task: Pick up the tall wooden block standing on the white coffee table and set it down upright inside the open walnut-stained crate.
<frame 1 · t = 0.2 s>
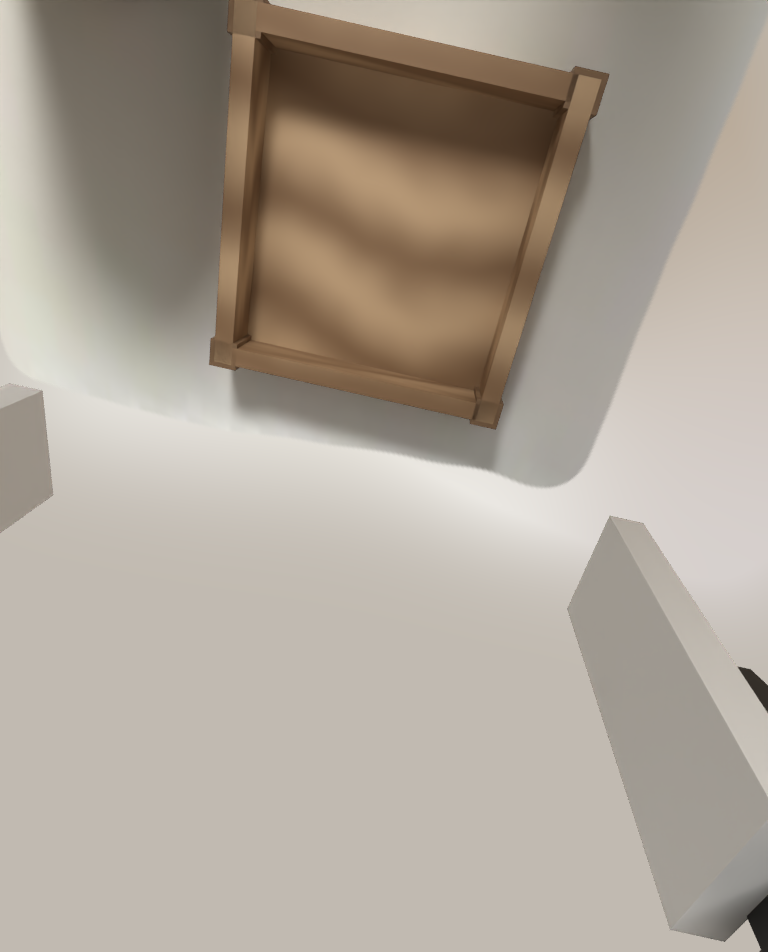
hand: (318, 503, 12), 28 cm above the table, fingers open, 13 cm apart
crate: (387, 237, 35), on the table
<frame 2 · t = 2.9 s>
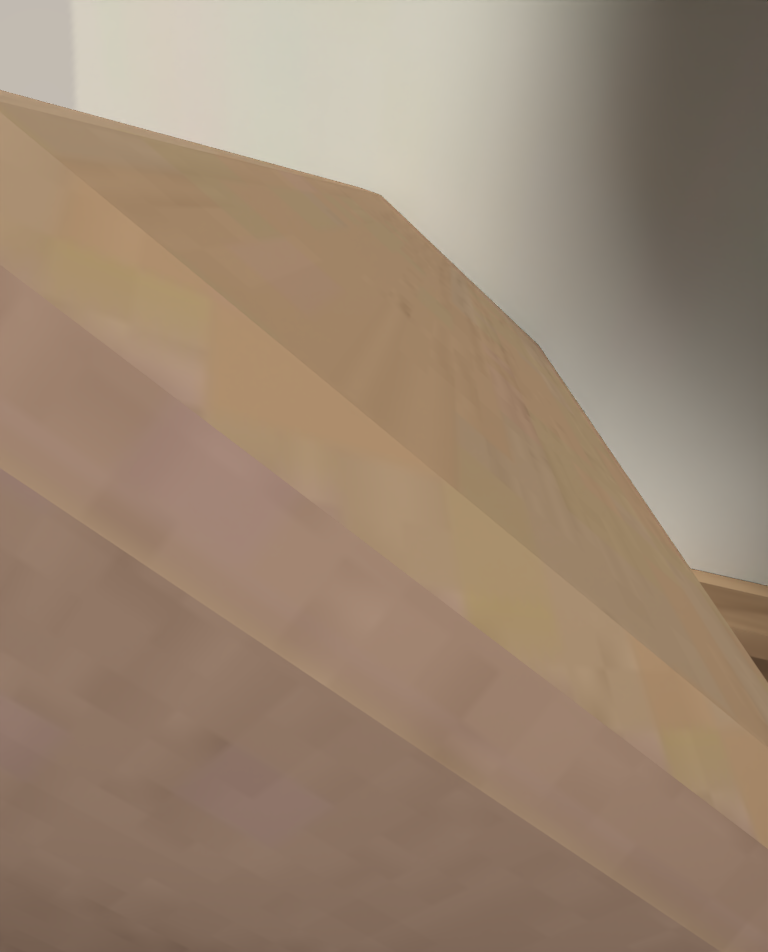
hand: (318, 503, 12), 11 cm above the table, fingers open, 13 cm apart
crate: (641, 712, 30), on the table
wooden block: (380, 365, 23), on the table
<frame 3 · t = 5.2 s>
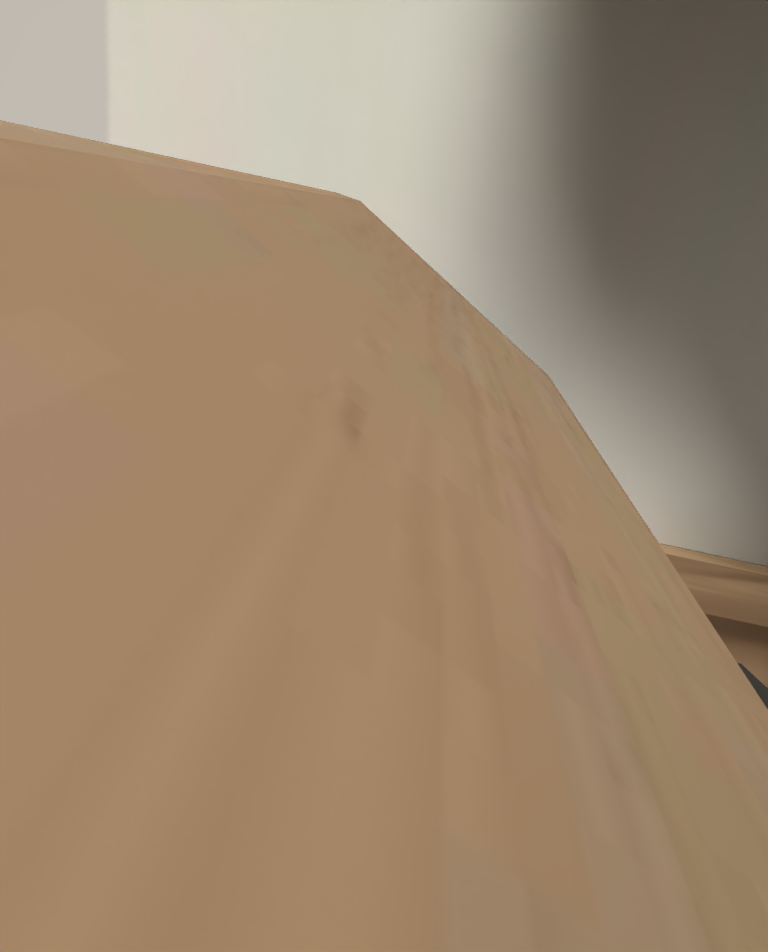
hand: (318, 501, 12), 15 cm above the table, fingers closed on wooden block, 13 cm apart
crate: (606, 674, 33), on the table
wooden block: (364, 396, 20), point 7 cm above the table, touching gripper
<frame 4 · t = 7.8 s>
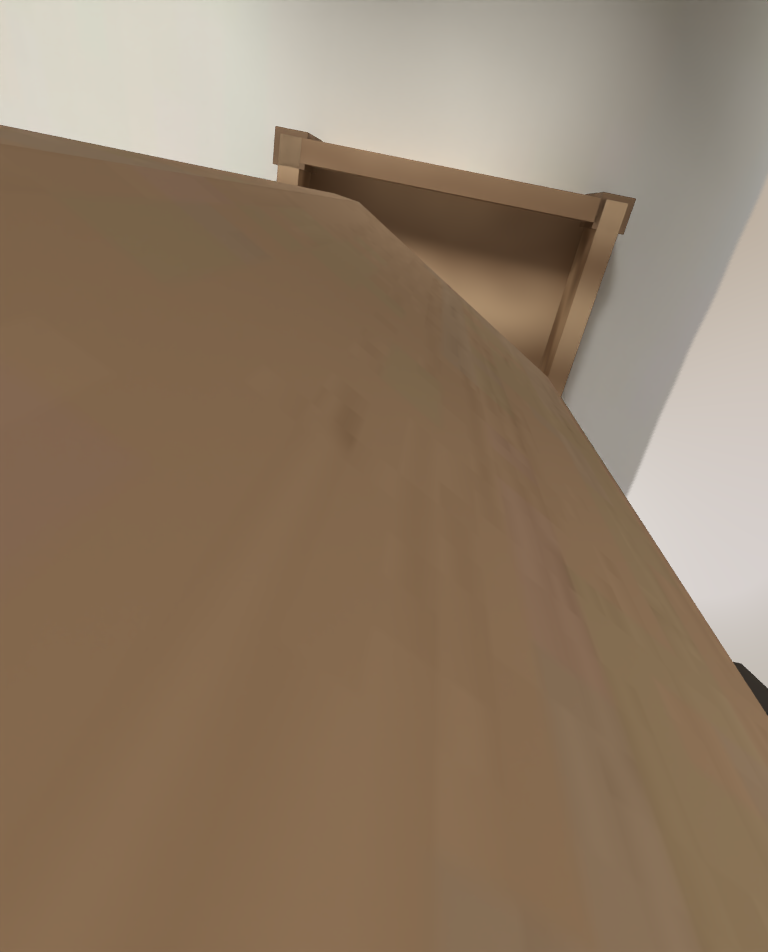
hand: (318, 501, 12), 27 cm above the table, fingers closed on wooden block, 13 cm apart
crate: (419, 330, 37), on the table
wooden block: (363, 398, 20), point 19 cm above the table, touching gripper
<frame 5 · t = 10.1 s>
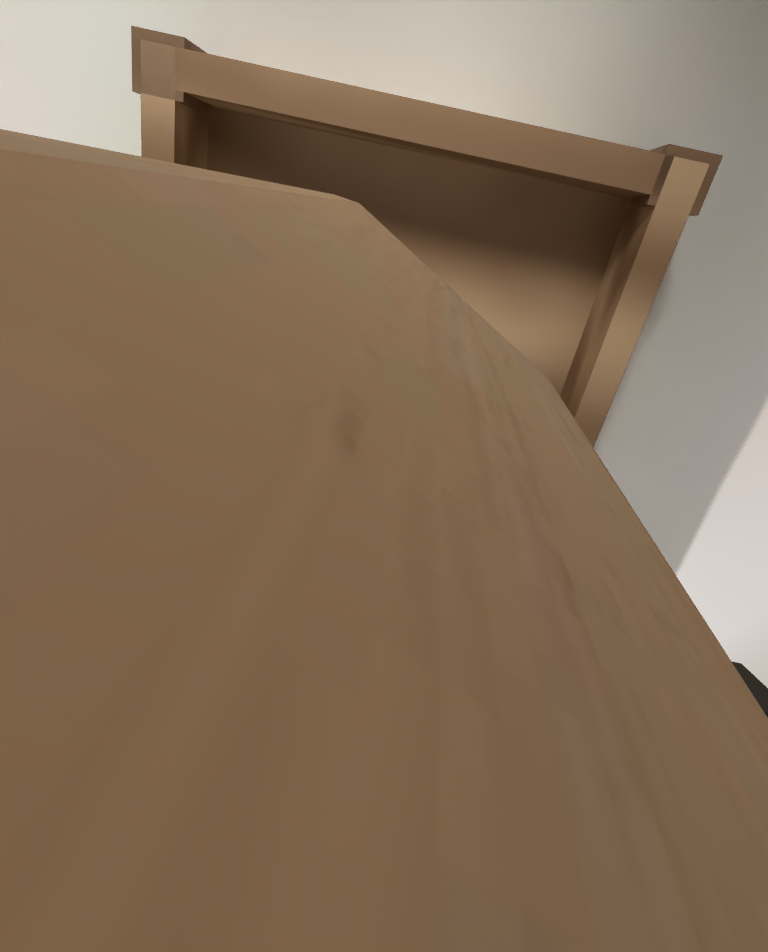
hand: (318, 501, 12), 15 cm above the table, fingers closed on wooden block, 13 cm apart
crate: (381, 357, 26), on the table
wooden block: (364, 398, 20), point 7 cm above the table, touching gripper
when the fingers open (10 cm above the table, at t = 11.9 s): wooden block stays where it is, resting on crate.
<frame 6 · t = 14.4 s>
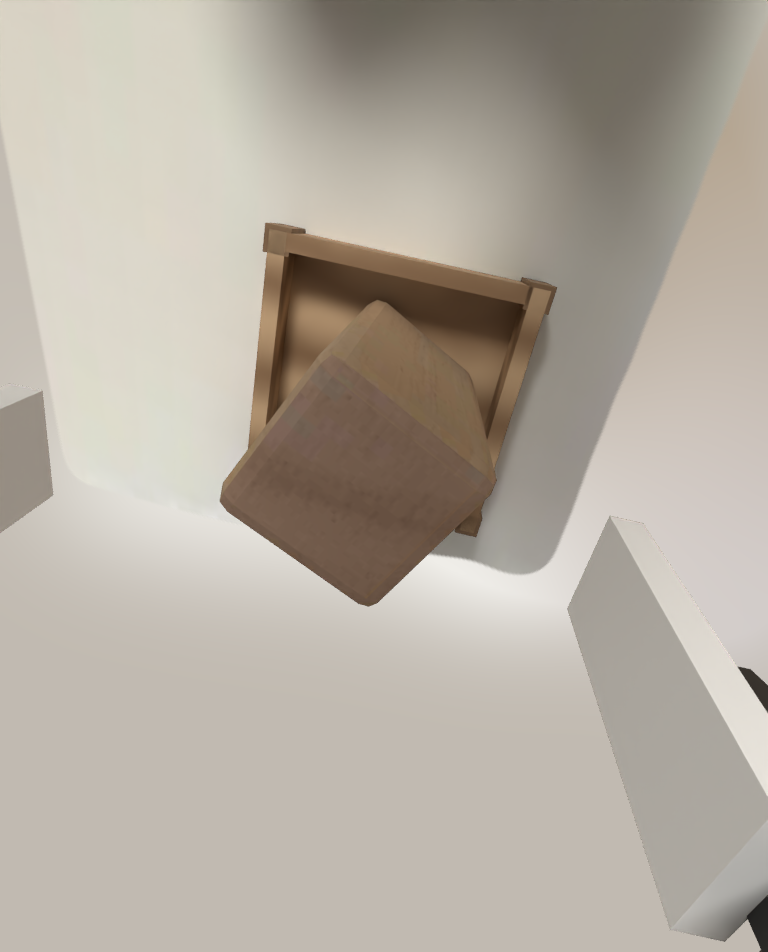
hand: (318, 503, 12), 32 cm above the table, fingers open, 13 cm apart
crate: (386, 383, 43), on the table
wooden block: (388, 384, 42), point 1 cm above the table, touching crate
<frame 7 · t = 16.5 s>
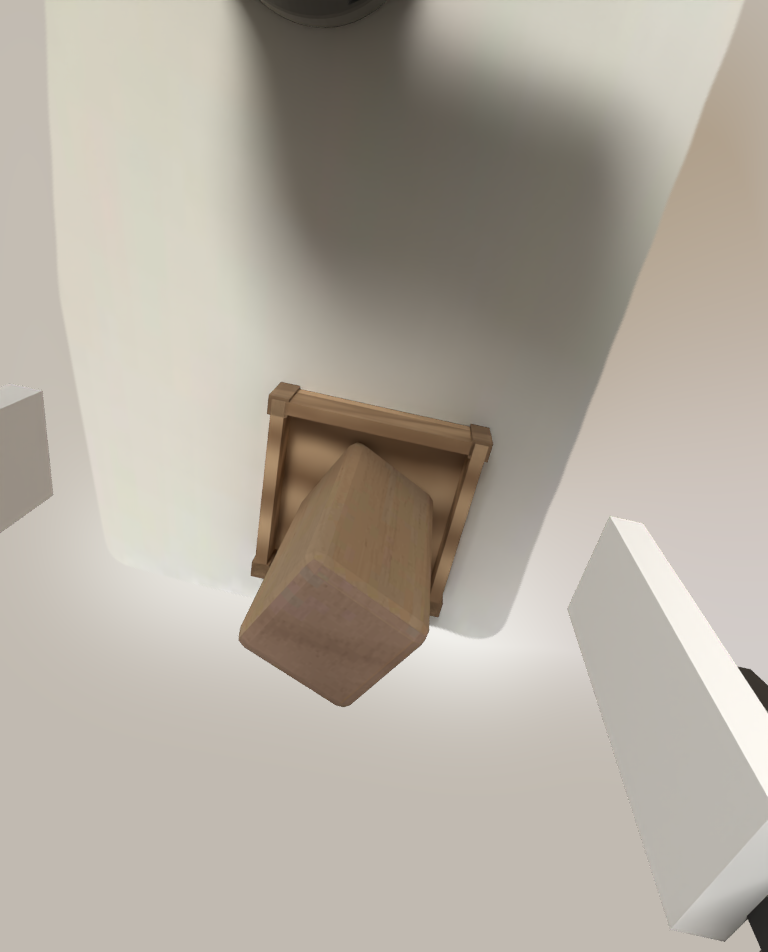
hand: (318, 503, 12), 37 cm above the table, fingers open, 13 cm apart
crate: (366, 496, 54), on the table
wooden block: (367, 499, 53), point 1 cm above the table, touching crate
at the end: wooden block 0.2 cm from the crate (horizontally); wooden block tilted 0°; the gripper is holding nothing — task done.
